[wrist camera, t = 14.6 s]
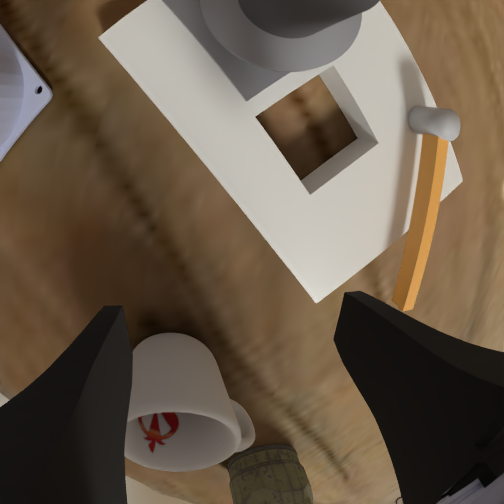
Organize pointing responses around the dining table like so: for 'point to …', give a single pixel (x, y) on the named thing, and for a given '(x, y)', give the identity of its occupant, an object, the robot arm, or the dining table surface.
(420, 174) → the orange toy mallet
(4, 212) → the dining table surface
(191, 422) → the cup
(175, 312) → the dining table surface
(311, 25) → the plug
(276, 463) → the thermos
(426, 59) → the dining table surface
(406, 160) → the socket board
